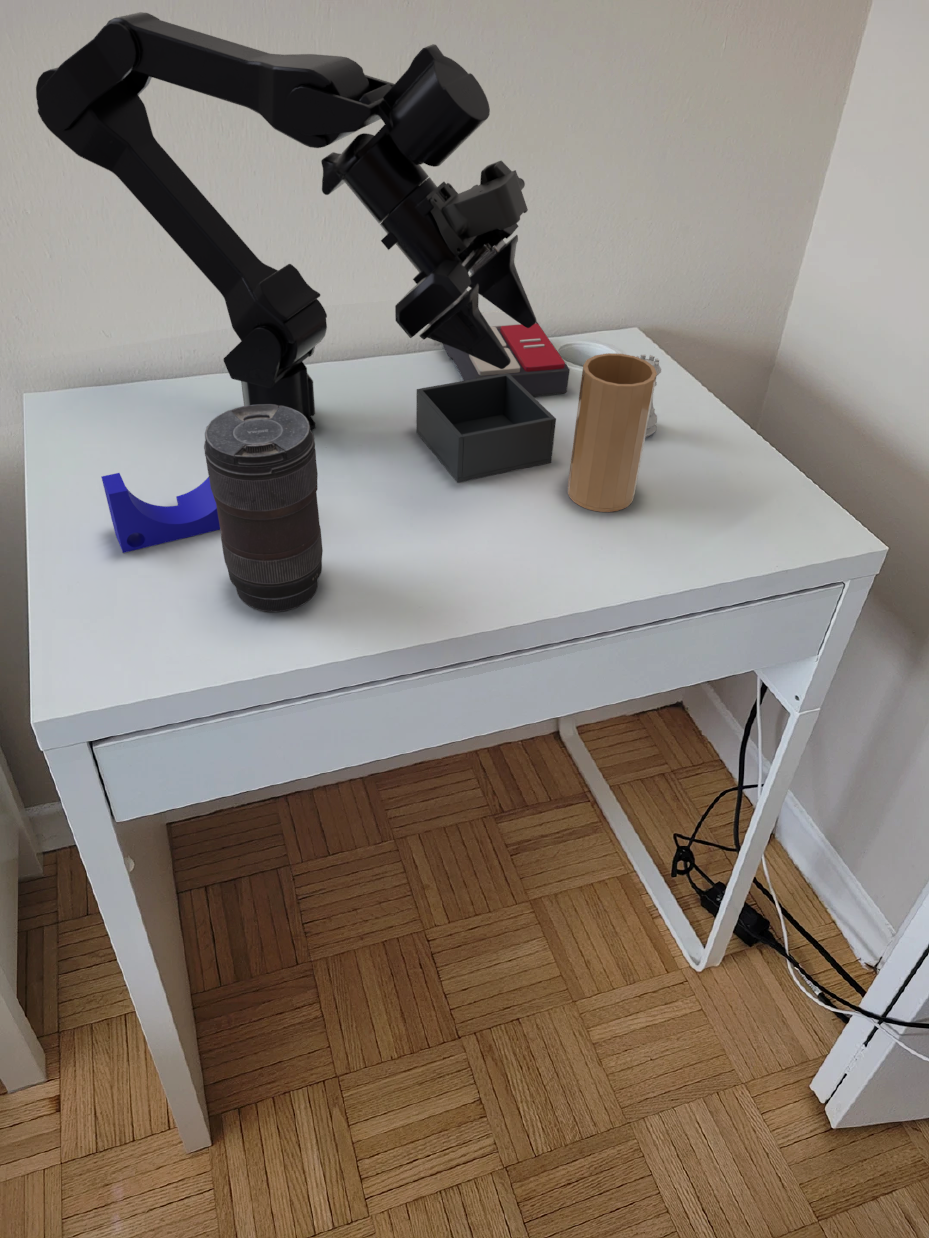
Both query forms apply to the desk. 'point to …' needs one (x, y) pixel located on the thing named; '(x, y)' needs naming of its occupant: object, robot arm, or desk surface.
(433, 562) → the desk surface
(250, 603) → the camera lens
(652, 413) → the rook chess piece
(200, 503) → the blue semicircular cradle bracket
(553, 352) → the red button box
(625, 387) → the wooden cup
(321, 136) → the robot arm
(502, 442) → the bin
